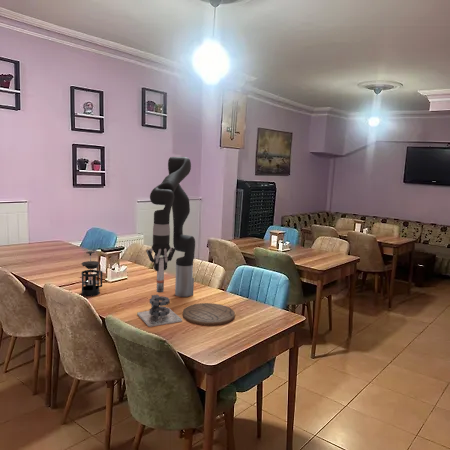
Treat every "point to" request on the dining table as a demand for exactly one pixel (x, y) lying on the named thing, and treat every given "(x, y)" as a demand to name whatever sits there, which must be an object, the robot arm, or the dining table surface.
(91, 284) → the french press
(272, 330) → the dining table surface
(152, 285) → the dining table surface
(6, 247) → the dining table surface
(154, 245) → the robot arm
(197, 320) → the trivet
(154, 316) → the collar stand
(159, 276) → the tube
